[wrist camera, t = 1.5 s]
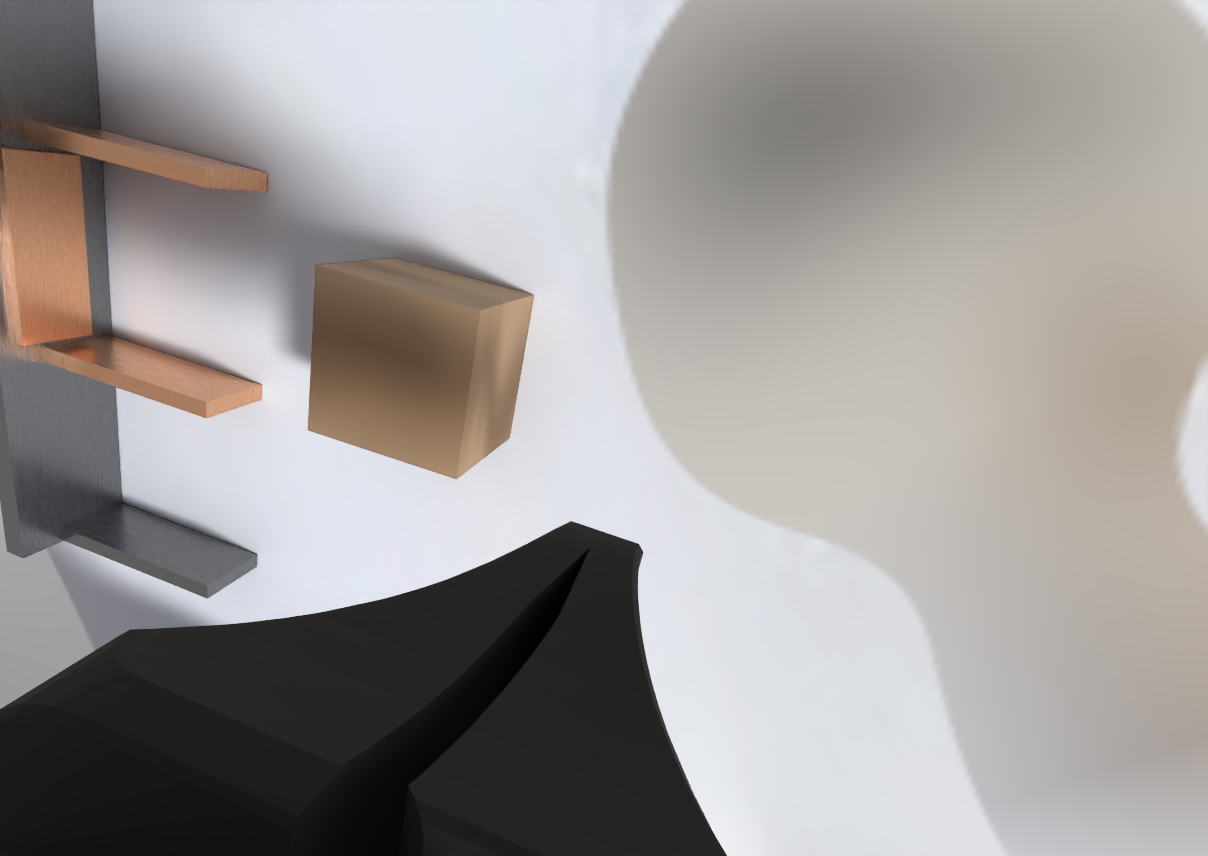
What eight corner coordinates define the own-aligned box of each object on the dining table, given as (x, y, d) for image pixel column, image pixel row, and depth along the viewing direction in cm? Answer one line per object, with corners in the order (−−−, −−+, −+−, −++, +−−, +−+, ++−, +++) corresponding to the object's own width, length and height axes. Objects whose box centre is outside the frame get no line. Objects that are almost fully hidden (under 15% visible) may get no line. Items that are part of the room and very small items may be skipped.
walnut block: (511, 436, 22) (456, 479, 18) (383, 397, 23) (307, 429, 19) (535, 294, 20) (480, 310, 17) (396, 257, 21) (315, 264, 18)
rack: (256, 566, 27) (173, 620, 23) (108, 509, 28) (7, 551, 25) (274, -100, 19) (150, -178, 15) (64, -136, 20) (-97, -215, 16)
